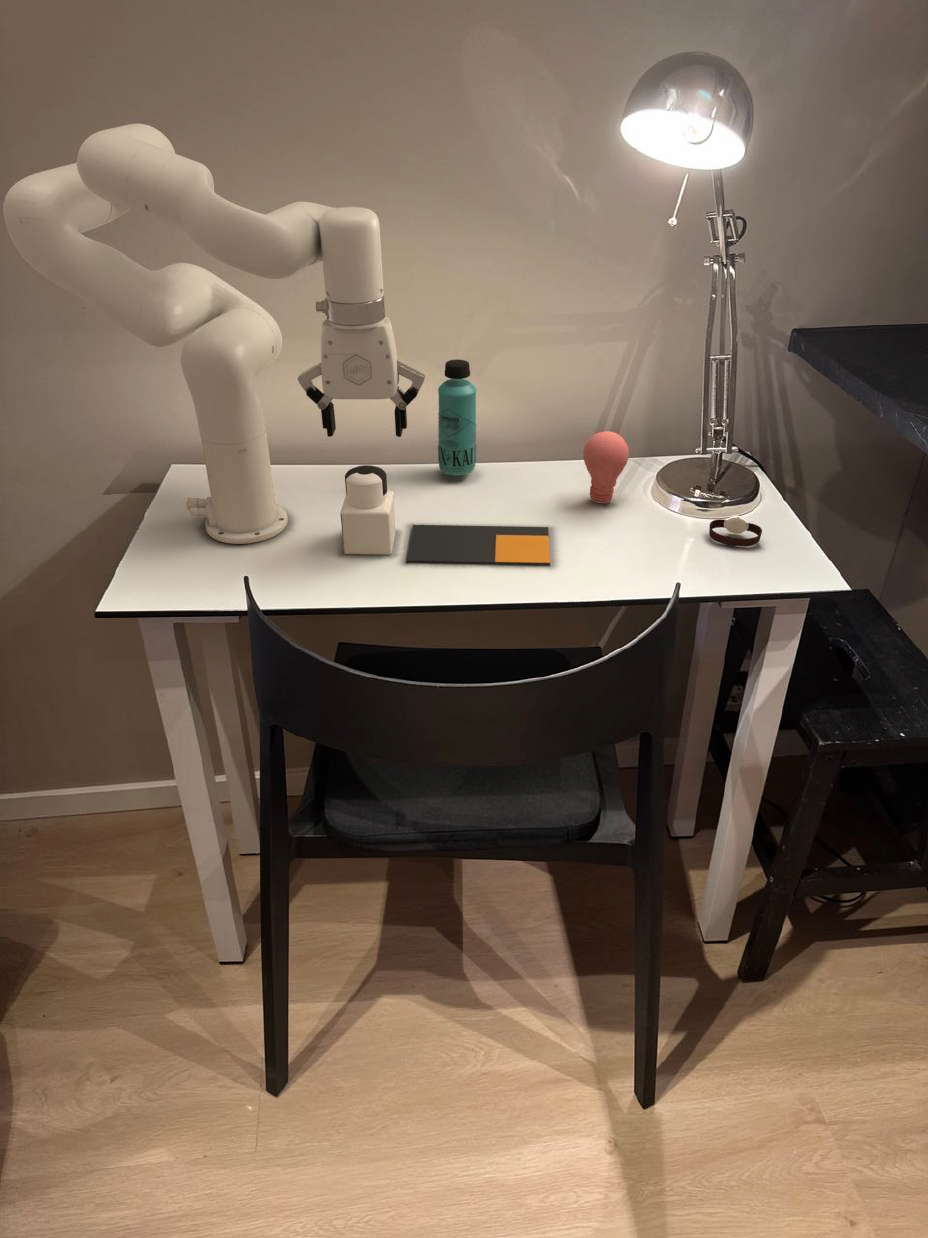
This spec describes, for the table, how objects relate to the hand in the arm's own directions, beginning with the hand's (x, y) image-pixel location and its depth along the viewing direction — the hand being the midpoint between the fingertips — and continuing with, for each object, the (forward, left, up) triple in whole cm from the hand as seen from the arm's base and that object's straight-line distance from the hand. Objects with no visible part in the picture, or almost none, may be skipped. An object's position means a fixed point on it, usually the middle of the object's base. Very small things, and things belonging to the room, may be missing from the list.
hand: (365, 433), depth 135 cm
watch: (+55, +3, -18) cm, 58 cm away
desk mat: (+16, 0, -18) cm, 24 cm away
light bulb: (+36, +15, -18) cm, 43 cm away
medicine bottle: (0, 0, -18) cm, 18 cm away
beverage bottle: (+12, +24, -18) cm, 32 cm away
